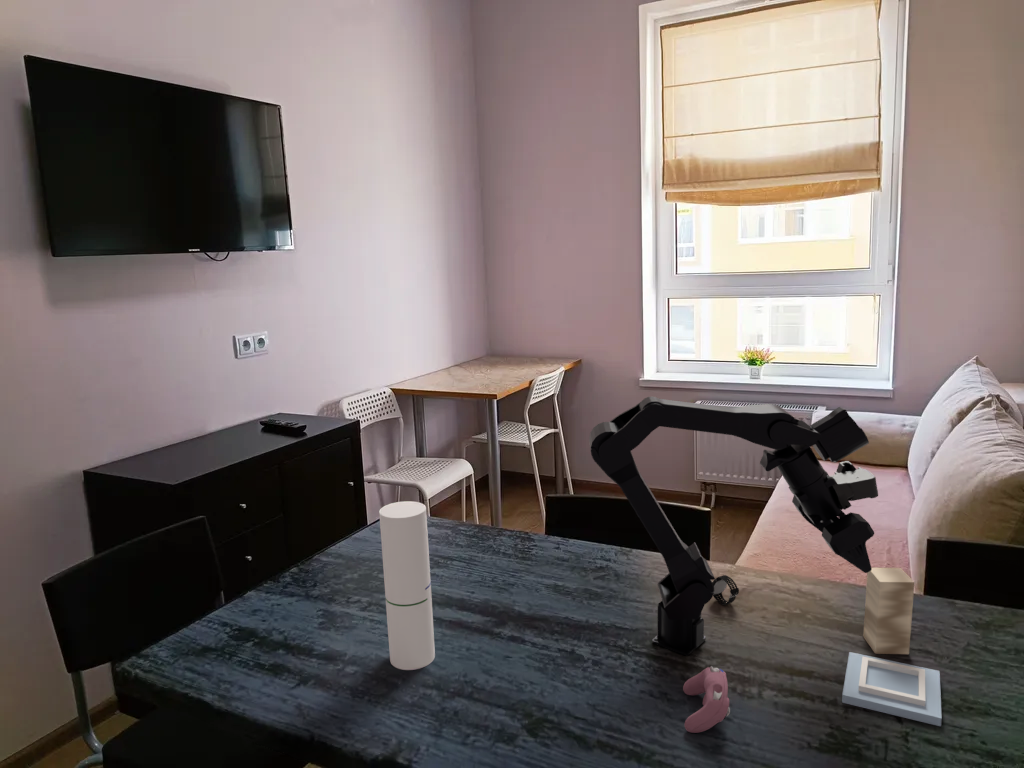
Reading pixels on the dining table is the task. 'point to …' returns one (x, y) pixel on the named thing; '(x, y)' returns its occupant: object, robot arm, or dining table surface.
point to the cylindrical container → (407, 584)
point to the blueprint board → (893, 688)
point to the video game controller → (708, 699)
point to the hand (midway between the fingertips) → (856, 558)
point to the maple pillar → (888, 610)
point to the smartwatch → (720, 586)
